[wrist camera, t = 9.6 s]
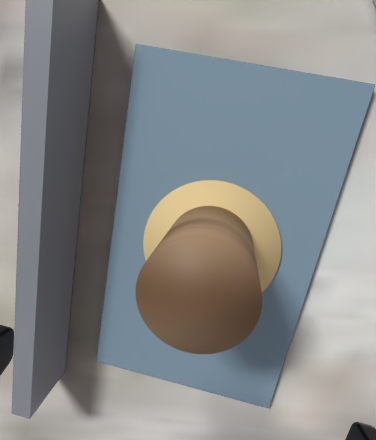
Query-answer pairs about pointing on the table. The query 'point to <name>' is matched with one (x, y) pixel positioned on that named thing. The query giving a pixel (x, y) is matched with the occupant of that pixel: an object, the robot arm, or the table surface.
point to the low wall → (50, 189)
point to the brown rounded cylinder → (202, 283)
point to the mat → (227, 199)
